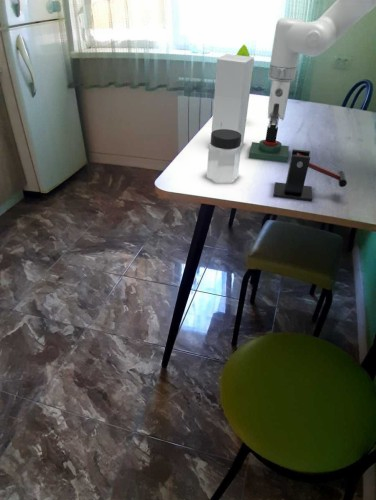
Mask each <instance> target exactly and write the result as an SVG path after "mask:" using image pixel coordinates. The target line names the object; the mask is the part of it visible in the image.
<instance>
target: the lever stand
mask: <svg viewBox="0 0 376 500" xmlns="http://www.w3.org/2000/svg"><path fill="white" fill-rule="evenodd" d="M297 153H299V154H302V155H304V156H301V155H296V154H297ZM310 155H311V151H310V150H306V149H305V150H304V149H294V148H292V151H291V155H290V160H289V166H288V171H287V175H286V180H285V182H277V181H275V182H274V187H273V188H274V189H273V196H272V197H273V198H277V199H287V200H295V201H303V202H313V186H312V185H305V182H306V178H307V174H308V169H309V167H308V166H309V162H311V156H310Z"/></svg>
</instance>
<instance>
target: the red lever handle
mask: <svg viewBox="0 0 376 500" xmlns="http://www.w3.org/2000/svg"><path fill="white" fill-rule="evenodd" d="M296 155H301V156H304V155H302V154H299V153H297V154H296ZM308 169H311V170H313V171H316V172H318V173H321V174H322V175H325V176H328V177H330V178H333V179H335V180H337V183H338V187H340V188H344V187H346V186H347V184H348V183H347V182H348V181H347V177H346V172H345V171H344V170H340V171H338V172H334V171H332V170H329V169H328V168H325V167H323V166H320V165H318V164H316V163H313V162H311V161H310V162H309V166H308Z"/></svg>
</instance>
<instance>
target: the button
mask: <svg viewBox="0 0 376 500" xmlns="http://www.w3.org/2000/svg"><path fill="white" fill-rule="evenodd" d="M277 141H278V140H276V142H266V141H264V144H265V145H269V146H276V145H277Z"/></svg>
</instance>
